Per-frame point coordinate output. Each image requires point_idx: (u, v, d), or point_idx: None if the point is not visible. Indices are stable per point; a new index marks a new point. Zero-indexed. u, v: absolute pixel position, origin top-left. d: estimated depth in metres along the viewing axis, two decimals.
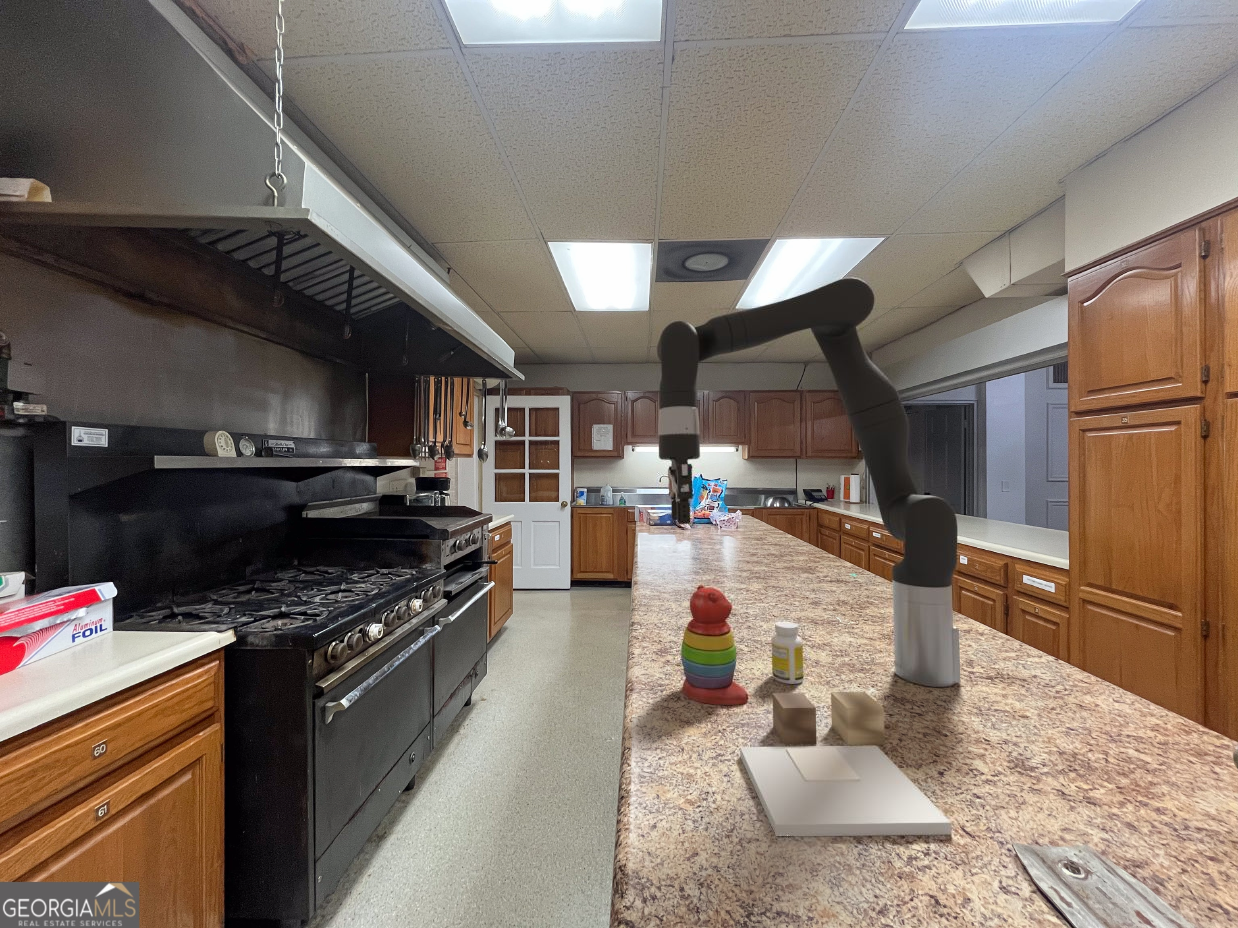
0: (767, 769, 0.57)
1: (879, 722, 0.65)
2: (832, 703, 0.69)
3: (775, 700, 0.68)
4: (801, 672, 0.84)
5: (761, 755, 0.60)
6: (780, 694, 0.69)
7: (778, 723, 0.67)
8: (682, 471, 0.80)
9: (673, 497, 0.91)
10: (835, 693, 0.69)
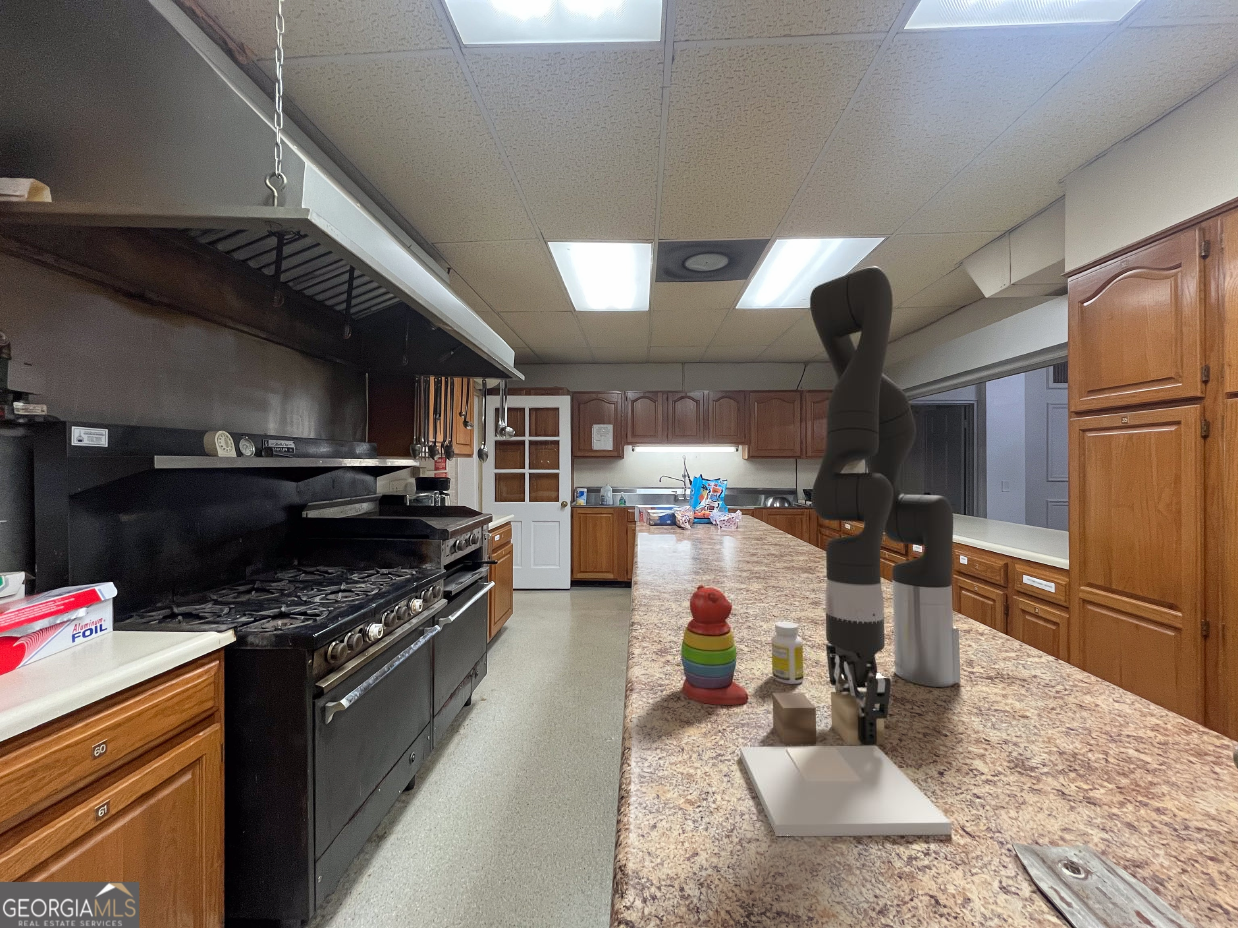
0: (767, 769, 0.57)
1: (879, 722, 0.65)
2: (832, 703, 0.69)
3: (775, 700, 0.68)
4: (801, 672, 0.84)
5: (761, 755, 0.60)
6: (780, 694, 0.69)
7: (778, 723, 0.67)
8: (878, 689, 0.61)
9: None
10: (835, 694, 0.69)
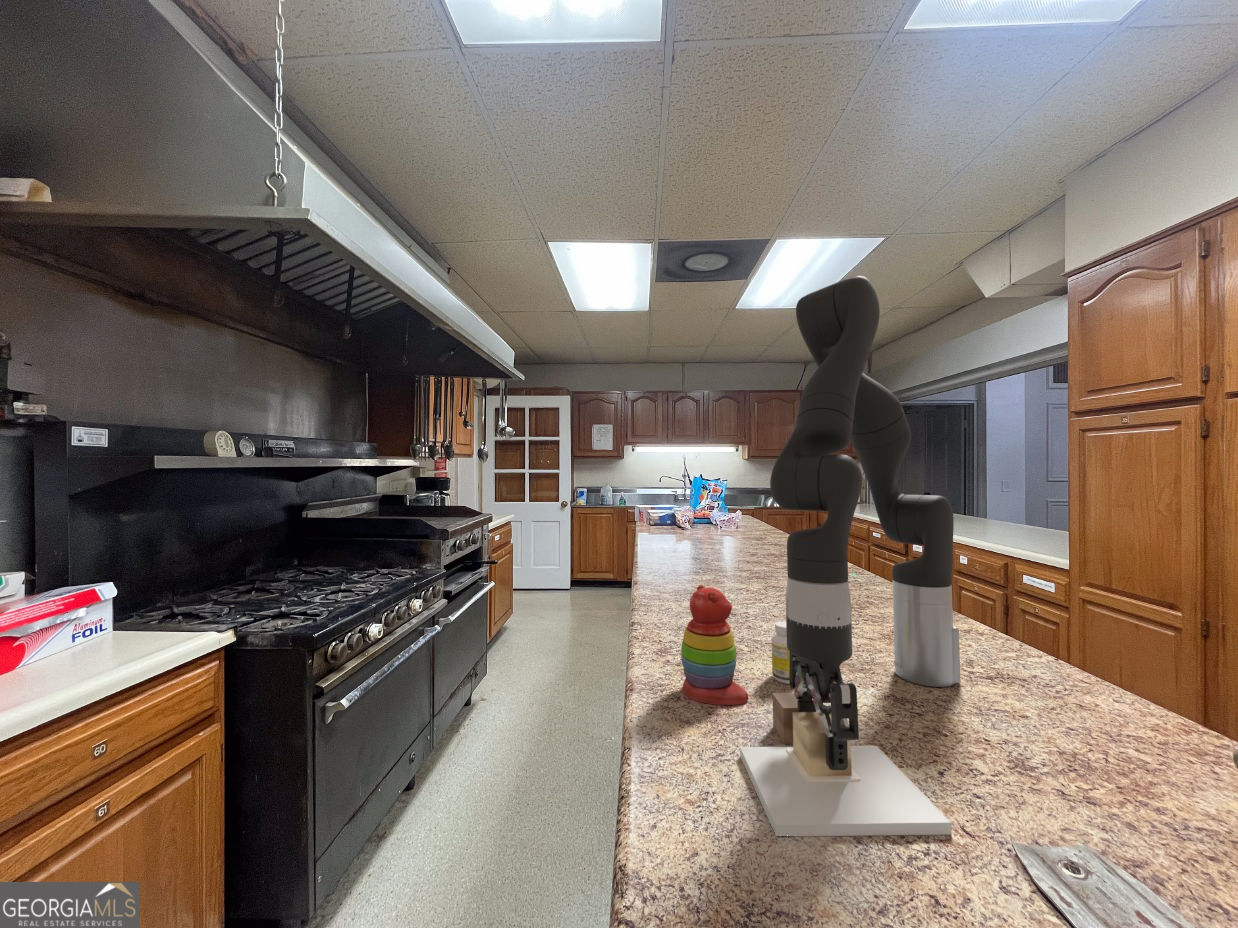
0: (767, 769, 0.57)
1: None
2: (794, 725, 0.60)
3: (775, 700, 0.68)
4: None
5: (761, 755, 0.60)
6: (780, 694, 0.69)
7: (778, 723, 0.67)
8: (843, 698, 0.52)
9: (801, 697, 0.63)
10: (797, 714, 0.60)
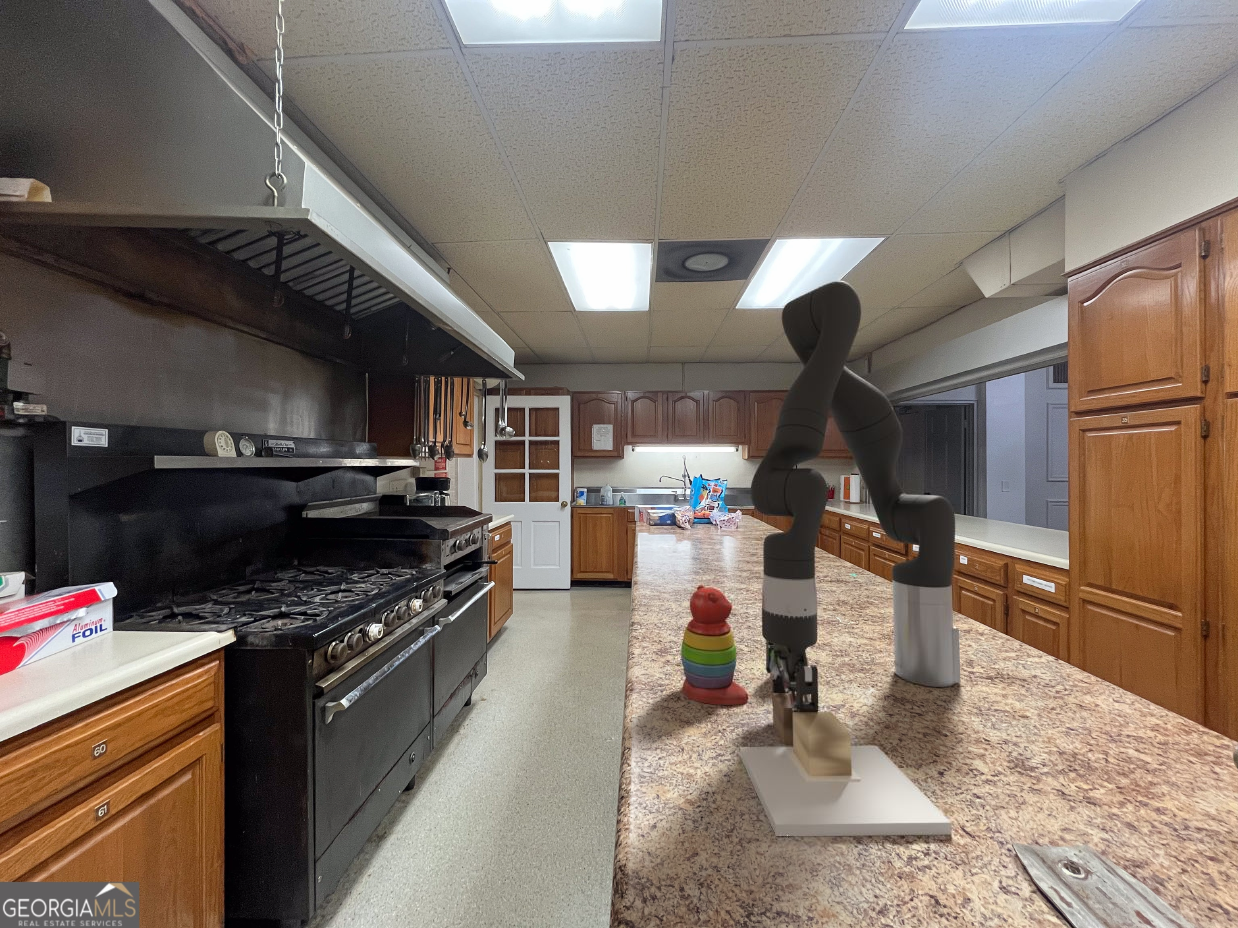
0: (767, 769, 0.57)
1: (845, 749, 0.56)
2: (794, 725, 0.60)
3: (775, 700, 0.68)
4: None
5: (761, 755, 0.60)
6: (780, 694, 0.69)
7: (778, 723, 0.67)
8: (806, 677, 0.61)
9: (775, 680, 0.71)
10: (797, 714, 0.60)
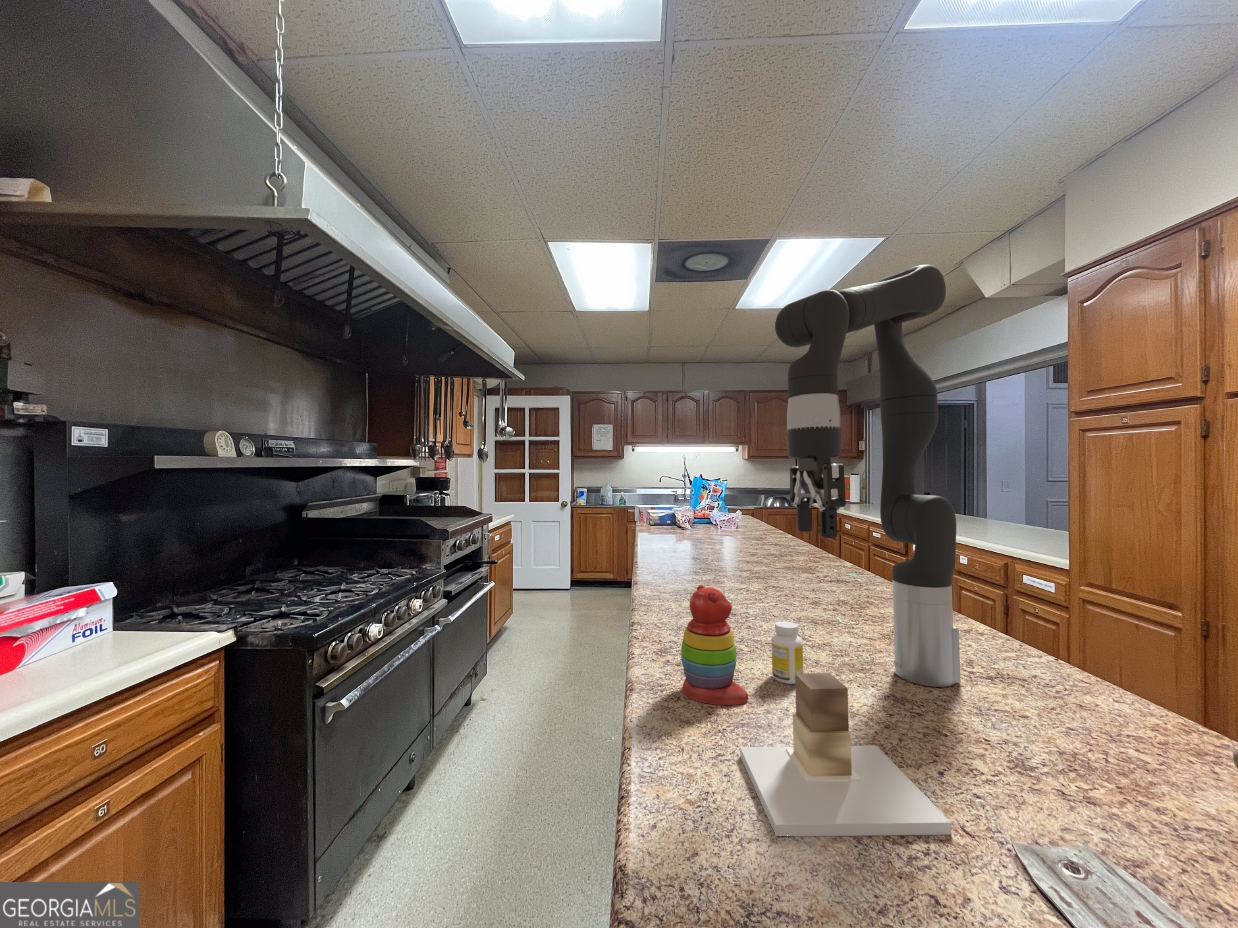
0: (767, 769, 0.57)
1: (845, 749, 0.56)
2: (794, 725, 0.60)
3: (799, 681, 0.60)
4: (801, 672, 0.84)
5: (761, 755, 0.60)
6: (804, 674, 0.60)
7: (803, 707, 0.58)
8: (833, 473, 0.65)
9: (799, 504, 0.75)
10: None
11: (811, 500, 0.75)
